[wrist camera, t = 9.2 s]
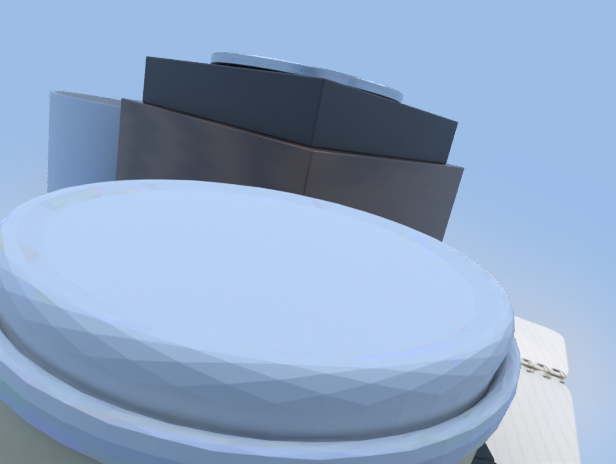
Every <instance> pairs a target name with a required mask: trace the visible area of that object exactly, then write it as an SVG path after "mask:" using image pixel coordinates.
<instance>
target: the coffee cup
mask: <svg viewBox="0 0 616 464" xmlns="http://www.w3.org/2000/svg"><path fill="white" fill-rule="evenodd" d="M514 331H515V329H514V312H513V309H512V306H511V303H510V300H509V297H508V296H507V294H506V293H505V292H504V290H503V289H502V287H501V286H500V284H499V283H498V282H497V281H496V280H495V279H494V278H493V277H492V276H491V275H490V274H489V273H488V272H487V271H486V270H485V269H484V268H482V267H481V266H479V265H478V264H477V263H475V262H474V261H472V260H471V259H469V258H468V257H466V256H465V255H464V254H462V253H461V252H459V251H457V250H455V249H454V248H452V247H450V246H448V245H446V244H444V243H442V242H441V241H439V240H437V239H435V238H433V237H430V236H428V235H426V234H423V233H421V232H419V231H416V230H414V229H412V228H410V227H407V226H404V225H402V224H399V223H397V222H394V221H391V220H388V219H385V218H383V217H380V216H377V215H373V214H370V213H367V212H364V211H361V210H357V209H354V208H351V207H347V206H343V205H340V204H336V203H332V202H328V201H324V200H320V199H315V198H311V197H306V196H302V195H297V194H293V193H288V192H282V191H276V190H271V189H265V188H259V187H251V186H242V185H234V184H226V183H216V182H205V181H192V180H123V181H110V182H100V183H91V184H85V185H80V186H74V187H68V188H63V189H60V190H57V191H53V192H50V193H47V194H44V195H41V196H38V197H35V198H33V199H31V200H29V201H27V202H25V203H23V204H22V205H19V206H18V207H17V208H16V209H15V210H13V211H12V212H11V213H10V214H9V215H8V216H6V217H5V218H4V220H2V222H1V223H0V464H471V462H472V460H473V458H474V455H475V453H476V451H477V449H478V448H479V447H481V446H482V445H483V444H484V443H485V442H486V441H487V439H488V438H489V437H490V436H491V435H492V434H493V433H494V431H495V430H496V429H497V428H498V426H499V424H500V422H501V420H502V418H503V417H504V415H505V413H506V411H507V409H508V407H509V405H510V403H511V401H512V400H513V398H514V396H515V393H516V388H517V383H518V379H519V374H520V369H521V364H520V352H519V349H518V346H517V343H516V340H515V337H514V335H513V334H514Z"/></svg>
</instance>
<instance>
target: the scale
mask: <svg viewBox="0 0 616 464" xmlns="http://www.w3.org/2000/svg"><path fill="white" fill-rule="evenodd" d="M143 102H144V103H148V104H151V105H155V106H159V107H163V108H166V109H170V110H174V111H178V112H181V113H185V114H189V115H193V116H196V117H200V118H204V119H207V120H211V121H215V122H219V123H222V124H226V125H230V126H234V127H237V128H241V129H245V130H249V131H252V132H256V133H260V134H263V135H267V136H271V137H275V138H278V139H282V140H286V141H290V142H293V143H297V144H301V145H305V146H308V147H313V148H321V149H330V150H338V151H346V152H354V153H362V154H370V155H378V156H386V157H394V158H402V159H410V160H418V161H426V162H434V163H442V164H446V162H447V159H448V155H449V152H450V148H451V145H452V141H453V138H454V135H455V131H456V128H457V124H458V122H456V121H453V120H450V119H447V118H444V117H441V116H438V115H435V114H432V113H429V112H426V111H423V110H420V109H417V108H414V107H410V106H407V105H405V104H401V103H398V102H395V101H392V100H389V99H386V98H383V97H380V96H377V95H374V94H371V93H368V92H365V91H362V90H359V89H356V88H353V87H350V86H347V85H344V84H341V83H338V82H335V81H332V80H329V79H326V78H321V77H312V76H304V75H296V74H288V73H280V72H271V71H263V70H255V69H247V68H239V67H230V66H222V65H214V64H205V63H197V62H189V61H180V60H173V59H165V58H156V57H146V67H145V78H144V91H143Z"/></svg>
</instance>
